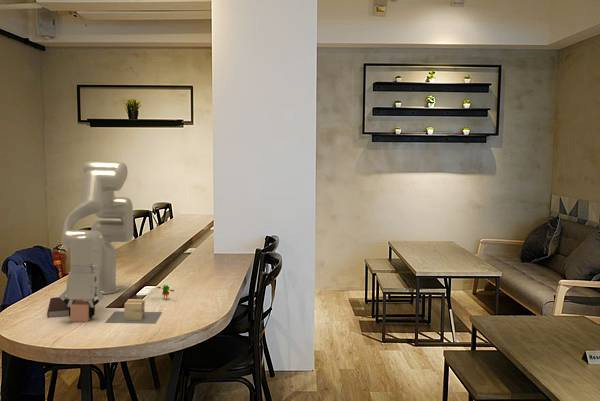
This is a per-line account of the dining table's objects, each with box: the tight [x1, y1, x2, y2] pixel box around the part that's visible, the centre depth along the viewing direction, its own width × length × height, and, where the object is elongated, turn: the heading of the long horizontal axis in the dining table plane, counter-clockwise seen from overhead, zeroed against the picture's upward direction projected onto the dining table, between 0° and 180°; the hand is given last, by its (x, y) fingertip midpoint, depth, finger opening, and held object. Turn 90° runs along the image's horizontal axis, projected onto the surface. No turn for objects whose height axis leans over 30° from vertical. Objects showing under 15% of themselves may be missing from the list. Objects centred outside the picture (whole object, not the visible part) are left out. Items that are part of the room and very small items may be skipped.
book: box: [46, 296, 76, 318], centre depth 211 cm, size 12×19×3 cm, turn 21°
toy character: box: [156, 284, 175, 300], centre depth 230 cm, size 11×12×7 cm
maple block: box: [123, 298, 146, 320], centre depth 201 cm, size 6×6×6 cm
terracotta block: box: [69, 300, 92, 323], centre depth 196 cm, size 6×6×6 cm
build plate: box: [104, 310, 163, 325], centre depth 201 cm, size 14×18×1 cm
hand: (81, 316), depth 196 cm, fingers closed on terracotta block, 6 cm apart
